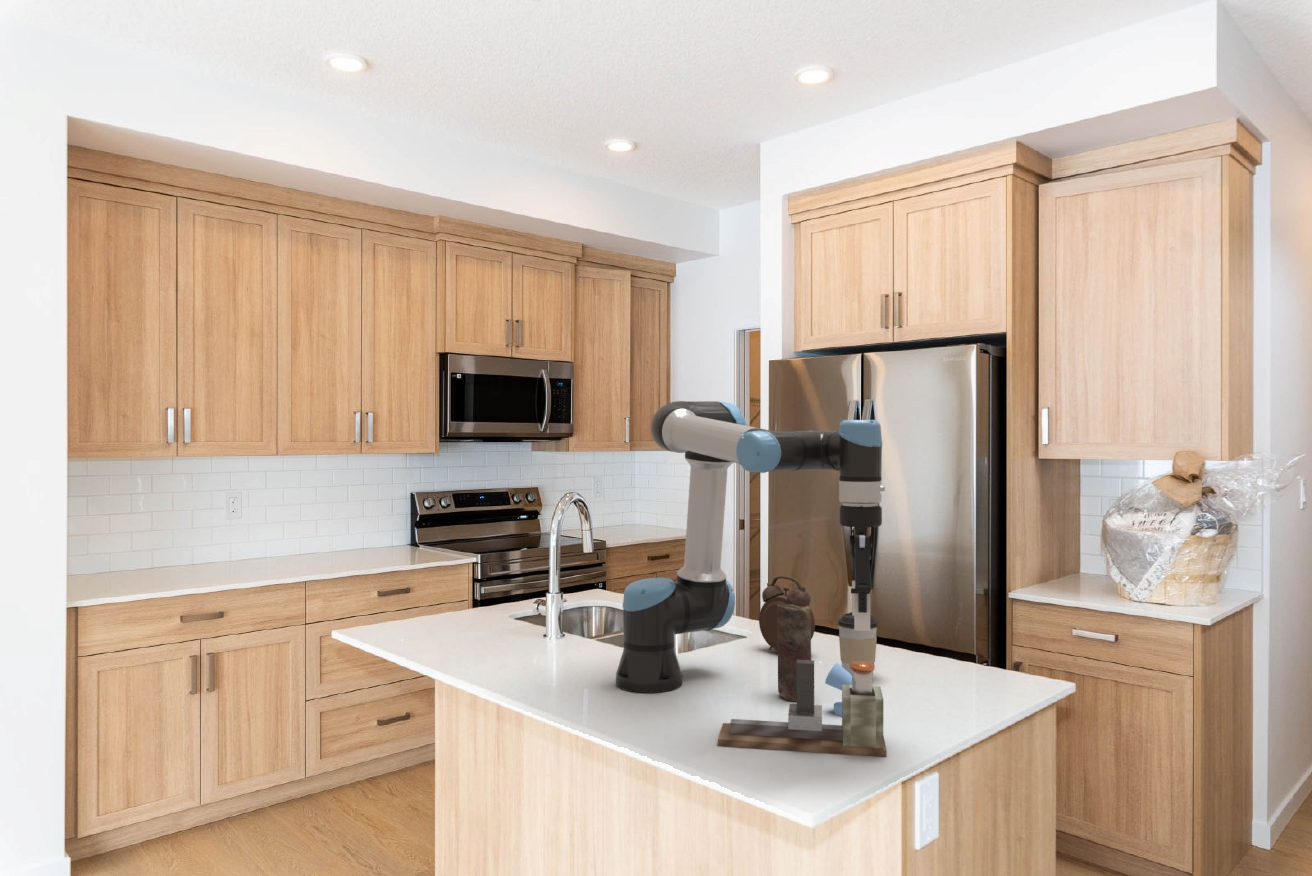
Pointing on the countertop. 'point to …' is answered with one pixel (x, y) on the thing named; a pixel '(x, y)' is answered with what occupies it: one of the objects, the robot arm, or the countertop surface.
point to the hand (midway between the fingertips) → (860, 622)
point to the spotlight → (838, 683)
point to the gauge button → (862, 677)
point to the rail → (792, 744)
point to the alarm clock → (769, 610)
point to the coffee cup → (856, 642)
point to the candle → (792, 645)
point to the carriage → (805, 700)
